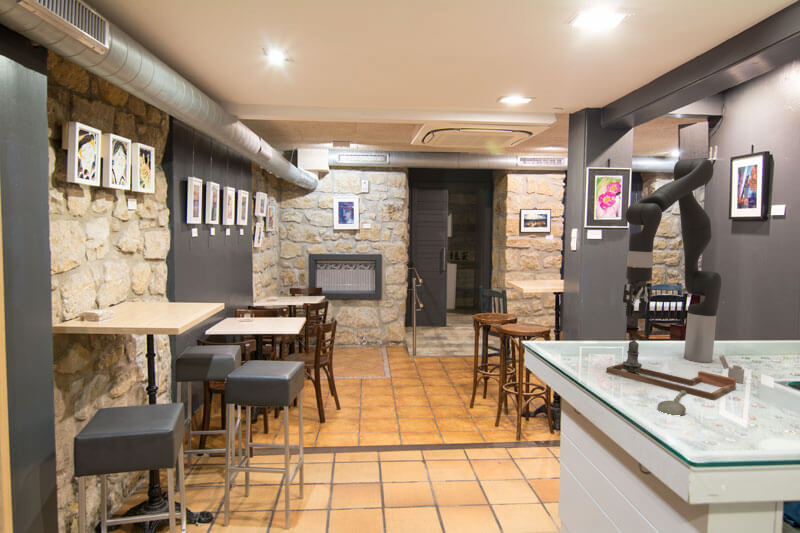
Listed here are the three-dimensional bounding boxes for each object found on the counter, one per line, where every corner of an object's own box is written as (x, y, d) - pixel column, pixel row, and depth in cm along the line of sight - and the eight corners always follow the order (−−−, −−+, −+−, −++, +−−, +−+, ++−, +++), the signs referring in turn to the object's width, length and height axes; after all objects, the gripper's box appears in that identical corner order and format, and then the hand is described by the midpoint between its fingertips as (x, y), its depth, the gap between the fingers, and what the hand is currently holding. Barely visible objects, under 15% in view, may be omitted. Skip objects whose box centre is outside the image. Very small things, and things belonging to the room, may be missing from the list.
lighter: (743, 382, 162) (745, 357, 162) (743, 383, 161) (745, 359, 160) (717, 378, 166) (719, 354, 166) (716, 379, 165) (718, 355, 164)
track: (632, 364, 180) (632, 355, 180) (735, 388, 155) (736, 379, 155) (606, 372, 168) (607, 363, 168) (713, 400, 144) (714, 389, 144)
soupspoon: (654, 415, 133) (682, 423, 129) (655, 403, 133) (683, 410, 129) (670, 392, 150) (696, 398, 146) (672, 381, 150) (697, 387, 146)
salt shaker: (643, 377, 163) (646, 341, 162) (623, 376, 165) (626, 339, 164) (638, 372, 169) (641, 337, 168) (619, 371, 170) (622, 336, 169)
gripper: (638, 264, 171) (634, 311, 173) (617, 265, 162) (613, 315, 164) (661, 266, 166) (657, 315, 167) (641, 267, 157) (637, 319, 158)
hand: (635, 315), depth 165 cm, fingers open, 8 cm apart
